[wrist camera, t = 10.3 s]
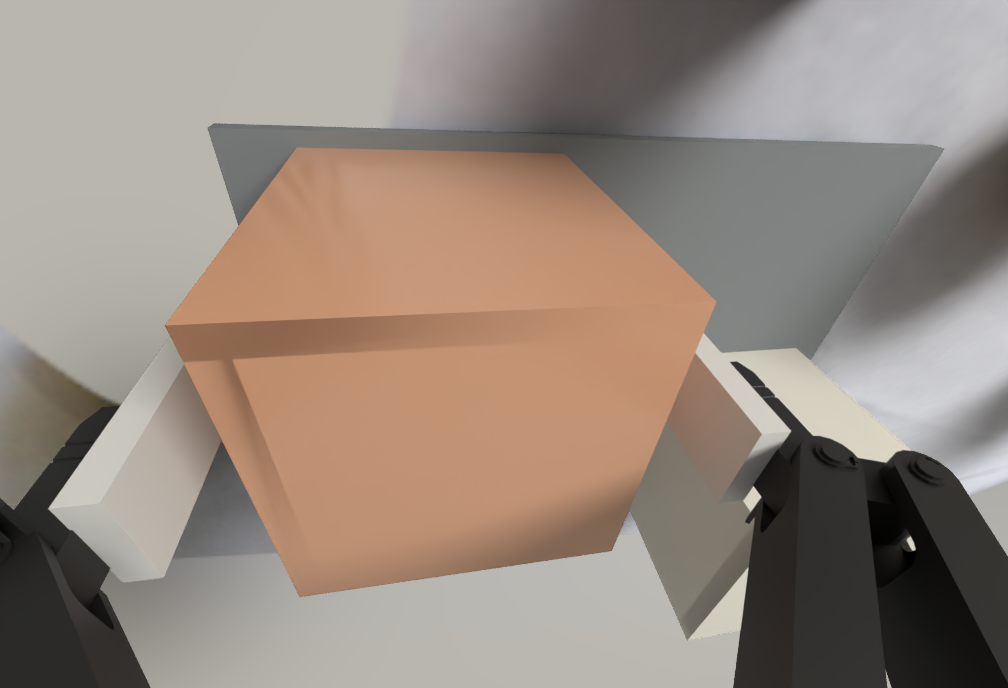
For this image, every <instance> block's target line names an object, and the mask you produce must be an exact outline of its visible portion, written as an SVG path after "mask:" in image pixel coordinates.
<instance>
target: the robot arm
mask: <svg viewBox="0 0 1008 688" xmlns="http://www.w3.org/2000/svg"><path fill="white" fill-rule="evenodd" d="M667 422H668V423H669V425H670V427H671V428H672V430H673V431H674V433H675V435H676V436H677V438H678V439H679V441H680V443H681V444H682V446H683V448H684V449H685V451H686V452H687V454H688V456H689V457H690V459H691V460H692V462H693V464H694V465H695V467H696V469H697V470H698V472H699V473H700V475H701V477H702V478H703V480H704V481H705V483H706V485H707V486H708V488H709V489H710V491H711V493H712V494H713V496H714V498H715V499H716V501H717V502H718V504H719V503H726V502H734V501H741V500H744V499H745V498H746V496H747V495H748V493H749V492H750V491H751V489H752V488H753V486H754V487H755V489H756V490H757V492H758V493H759V494H760V496H761V498H760V500H759V501H758V502H757V504H756V505H755V507H754V508H753V509H752V511H751V512H750V514H749V515H748V516H747V518H746V521H745V522H746V523H748V524H750V522H751V521H752V520H753V518H755V521H754V529H753V537H752V545H751V552H750V560H749V568H748V576H747V584H746V592H745V600H744V607H743V615H742V623H741V631H740V639H739V647H738V654H737V662H736V670H735V678H734V686H733V688H887V681H886V672H887V675H888V678H889V681H890V684H891V687H892V688H1008V556H1007V555H1006V553H1005V551H1004V550H1003V548H1002V547H1001V545H1000V544H999V542H998V541H997V539H996V537H995V536H994V534H993V533H992V531H991V530H990V528H989V527H988V525H987V523H986V522H985V520H984V519H983V517H982V516H981V514H980V512H979V511H978V509H977V508H976V506H975V505H974V503H973V502H972V500H971V498H970V497H969V495H968V494H967V492H966V491H965V489H964V487H963V486H962V484H961V483H960V481H959V480H958V479H957V478H956V476H955V475H954V474H953V473H952V472H951V471H950V470H949V469H948V468H946V467H945V466H944V465H942V464H941V463H940V462H938V461H936V460H935V459H932V458H931V457H929V456H927V455H924V454H921V453H918V452H915V451H908V450H902V451H898V452H896V453H895V454H894V455H893V456H892V457H891V458H890V459H889V460H888V461H887V462H886V463H885V462H879V461H874V460H868V459H862V458H857V456H856V455H855V454H854V453H853V452H852V451H851V450H849V449H848V448H847V447H845V446H844V445H843V444H840V443H838V442H836V441H834V440H832V439H830V438H826V437H822V436H813V435H812V434H811V433H810V432H809V431H808V430H807V429H806V428H805V427H804V425H803V424H802V423H801V422H800V421H799V420H798V419H797V418H796V417H795V416H794V415H793V414H792V413H791V412H790V410H789V409H788V408H787V407H786V406H785V405H784V404H783V403H782V402H781V401H780V400H779V399H778V398H775V394H774V393H773V392H772V391H771V390H770V389H769V388H768V387H765V384H764V383H763V382H762V381H761V379H760V378H759V377H758V376H757V375H756V374H755V373H754V372H753V371H751V370H750V369H748V368H747V367H745V366H744V365H742V364H740V363H739V362H737V361H734V362H729V361H728V360H727V359H726V357H725V356H724V355H723V354H722V353H721V352H720V351H719V350H718V349H717V347H716V346H715V345H714V344H713V343H712V342H711V341H710V340H709V338H708V337H707V336H706V335H705V334H704V333H703V335H702V338H701V340H700V342H699V345H698V347H697V350H696V352H695V354H694V357H693V359H692V361H691V364H690V366H689V369H688V371H687V373H686V376H685V378H684V380H683V383H682V385H681V388H680V390H679V392H678V395H677V397H676V399H675V402H674V404H673V407H672V409H671V411H670V414H669V416H668V418H667ZM221 440H222V439H221V437H220V435H219V433H218V431H217V429H216V427H215V425H214V423H213V421H212V419H211V417H210V415H209V413H208V411H207V409H206V407H205V405H204V403H203V401H202V399H201V397H200V395H199V393H198V391H197V389H196V387H195V385H194V383H193V381H192V379H191V377H190V375H189V373H188V371H187V369H186V367H185V365H184V363H183V361H182V359H181V357H180V355H179V353H178V351H177V349H176V347H175V345H174V343H173V341H172V339H171V337H170V336H169V338H168V339H167V341H166V342H165V344H164V345H163V346H162V348H161V349H160V351H159V352H158V353H157V355H156V356H155V358H154V359H153V361H152V362H151V363H150V365H149V366H148V368H147V369H146V370H145V372H144V373H143V375H142V376H141V378H140V379H139V380H138V382H137V383H136V385H135V386H134V388H133V389H132V390H131V392H130V393H129V395H128V396H127V397H126V399H125V400H124V402H123V403H122V405H121V406H115V407H102V408H101V409H100V410H98V411H97V412H96V413H94V414H93V415H92V416H90V417H89V418H88V419H86V420H85V421H84V422H83V423H81V424H80V425H79V426H78V428H77V429H76V430H75V431H74V433H73V434H72V435H71V437H70V438H69V439H68V441H67V442H66V443H65V444H66V446H65V447H62V448H61V450H60V451H59V452H58V454H57V455H56V456H55V457H54V459H53V463H50V464H49V465H48V467H47V468H46V469H45V470H44V472H43V473H42V474H41V476H40V477H39V478H38V480H37V481H36V482H35V483H34V485H33V486H32V487H31V489H30V490H29V491H28V493H27V494H26V495H25V496H24V498H23V499H22V500H21V502H20V503H19V504H18V506H17V507H16V508H15V509H14V510H13V509H11V508H10V507H9V506H8V505H7V504H6V503H5V502H4V501H3V500H2V499H1V498H0V688H150V686H149V684H148V682H147V679H146V677H145V675H144V673H143V671H142V669H141V667H140V665H139V663H138V661H137V658H136V657H135V654H134V652H133V650H132V648H131V646H130V644H129V642H128V640H127V637H126V636H125V633H124V631H123V629H122V627H121V625H120V623H119V621H118V619H117V616H116V615H115V612H114V610H113V608H112V606H111V604H110V602H109V600H108V598H107V595H105V594H104V593H103V592H102V591H101V590H100V587H101V585H102V583H103V581H104V580H105V577H106V576H107V573H108V572H109V570H110V571H111V572H112V573H113V574H114V575H115V576H116V577H117V578H118V579H119V580H120V581H121V582H122V583H128V582H135V581H143V580H150V579H158V578H164V576H165V574H166V571H167V569H168V566H169V564H170V562H171V559H172V557H173V555H174V552H175V550H176V548H177V545H178V543H179V540H180V538H181V536H182V533H183V531H184V528H185V526H186V524H187V521H188V519H189V517H190V514H191V512H192V509H193V507H194V505H195V502H196V500H197V497H198V495H199V493H200V490H201V488H202V486H203V483H204V481H205V478H206V476H207V474H208V471H209V469H210V466H211V464H212V462H213V459H214V457H215V455H216V452H217V450H218V447H219V445H220V443H221ZM910 536H911V538H912V540H913V542H914V545H915V549H916V550H914V551H912V549H911V548H910V546H909V544H908V542H907V539H908V538H909V537H910ZM885 669H886V671H885Z"/></svg>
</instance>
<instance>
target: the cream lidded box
mask: <svg viewBox="0 0 1008 688" xmlns="http://www.w3.org/2000/svg"><path fill="white" fill-rule="evenodd" d="M722 354H723V355H724V356H725V357H726V359H727V360H728V361H729V362H734V361H737V362H739V363H740V364H742V365H744V366H745V367H747V368H748V369H750V370H751V371H753V372H754V373H755V374H756V375H757V376H758V377H759V378H760V379H761V381H762V382H763V383H764V384H765V387H768V388H769V389H770V390H771V391H772V392H773V393H774V394H775V398H778V399H779V400H780V401H781V402H782V403H783V404H784V405H785V406H786V407H787V408H788V409H789V410H790V412H791V413H792V414H793V415H794V416H795V417H796V418H797V419H798V420H799V421H800V422H801V423H802V424H803V425H804V427H805V428H806V429H807V430H808V431H809V432H810V433H811V434H812V435H813V436H822V437H826V438H830V439H832V440H834V441H836V442H838V443H840V444H843V445H844V446H845V447H847V448H848V449H849V450H851V451H852V452H853V453H854V454H855V455H856V456H857V458H862V459H868V460H874V461H879V462H885V463H886V462H887V461H888V460H889V459H890V458H891V457H892V456H893V455H894V454H895V453H896V452H898V451H902V450H908V451H911V450H910V449H909V448H908V447H907V446H906V445H904V444H903V443H902V442H901V441H900V440H899V439H898V438H897V437H895V436H894V435H893V434H892V433H891V432H890V431H889V430H888V429H886V428H885V427H884V426H883V425H882V424H881V423H880V422H879V421H877V420H876V419H875V418H874V417H873V416H872V415H871V414H870V413H868V412H867V411H866V410H865V409H864V408H863V407H862V406H861V405H860V404H858V403H857V402H856V401H855V400H854V399H853V398H852V397H851V396H849V395H848V394H847V393H846V392H845V391H844V390H843V389H842V388H840V387H839V386H838V385H837V384H836V383H835V382H834V381H833V380H831V379H830V378H829V377H828V376H827V375H826V374H825V373H824V372H822V371H821V370H820V369H819V368H818V367H817V366H816V365H815V364H814V363H812V362H811V361H810V360H809V359H808V358H807V357H806V356H805V355H803V354H802V353H801V352H800V351H799V350H798V349H797V348H788V349H773V350H758V351H743V352H727V353H722ZM760 498H761V496H760V494H759V493H758V492H757V490H756V489H755V487H754V486H753V488H752V489H751V491H750V492H749V493H748V495H747V496H746V498H745V499H744V500H741V501H734V502H726V503H719V504H718V502H717V501H716V499H715V498H714V496H713V494H712V493H711V491H710V489H709V488H708V486H707V485H706V483H705V481H704V480H703V478H702V477H701V475H700V473H699V472H698V470H697V469H696V467H695V465H694V464H693V462H692V460H691V459H690V457H689V456H688V454H687V452H686V451H685V449H684V448H683V446H682V444H681V443H680V441H679V439H678V438H677V436H676V435H675V433H674V431H673V430H672V428H671V427H670V425H669V423H668V422H667V421H666V423H665V426H664V428H663V430H662V433H661V435H660V437H659V440H658V442H657V445H656V447H655V449H654V452H653V454H652V456H651V459H650V461H649V464H648V466H647V468H646V471H645V473H644V475H643V478H642V480H641V483H640V485H639V487H638V490H637V492H636V494H635V497H634V499H633V502H632V504H631V506H630V511H631V514H632V516H633V518H634V520H635V523H636V525H637V527H638V529H639V532H640V534H641V536H642V539H643V541H644V543H645V545H646V548H647V550H648V552H649V554H650V557H651V559H652V561H653V564H654V566H655V568H656V570H657V573H658V575H659V577H660V579H661V582H662V584H663V586H664V589H665V591H666V593H667V595H668V597H669V600H670V602H671V605H672V607H673V609H674V611H675V614H676V616H677V618H678V620H679V623H680V625H681V627H682V630H683V632H684V634H685V636H686V639H687V640H693V639H698V638H703V637H709V636H714V635H719V634H724V633H729V632H735V631H739V630H741V623H742V615H743V607H744V600H745V592H746V584H747V576H748V568H749V560H750V552H751V545H752V537H753V529H754V521H755V518H753V520H752V521H751V522H750V524H748V523H746V522H745V521H746V518H747V516H748V515H749V514H750V512H751V511H752V509H753V508H754V507H755V505H756V504H757V502H758V501H759V500H760ZM907 542H908V544H909V546H910V548H911V549H912V551H914V550H916V549H915V545H914V542H913V540H912V538H911V536H910V537H909V538H908V539H907Z"/></svg>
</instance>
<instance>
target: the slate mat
mask: <svg viewBox="0 0 1008 688" xmlns="http://www.w3.org/2000/svg"><path fill="white" fill-rule="evenodd" d="M208 131H209V134H210V137H211V140H212V143H213V147H214V150H215V153H216V156H217V159H218V162H219V165H220V168H221V172H222V175H223V178H224V181H225V184H226V188H227V191H228V194H229V197H230V200H231V203H232V206H233V210H234V213H235V216H236V219H237V222H238V225H240V223H241V222H242V221H243V219H244V218H245V217H246V215H247V214H248V213H249V211H250V210H251V209H252V207H253V206H254V205H255V203H256V202H257V201H258V199H259V198H260V196H261V195H262V194H263V192H264V191H265V190H266V188H267V187H268V186H269V184H270V183H271V182H272V180H273V179H274V178H275V176H276V175H277V174H278V172H279V171H280V170H281V168H282V167H283V165H284V164H285V163H286V161H287V160H288V159H289V157H290V156H291V155H292V153H293V152H294V151H295V149H296V148H341V149H387V150H434V151H480V152H526V153H564V154H565V155H566V156H567V157H568V158H569V159H570V160H571V161H572V162H573V163H574V164H575V165H576V166H577V167H578V168H579V169H580V170H582V171H583V172H584V173H585V174H586V175H587V176H588V177H589V178H590V179H591V180H592V181H593V182H594V183H595V184H596V185H597V186H598V187H599V188H600V189H601V190H602V191H603V192H604V193H605V194H606V195H607V196H608V197H609V198H610V199H611V200H612V201H614V202H615V203H616V204H617V205H618V206H619V207H620V208H621V209H622V210H623V211H624V212H625V213H626V214H627V215H628V216H629V217H630V218H631V219H632V220H633V221H634V222H635V223H636V224H637V225H638V226H639V227H640V228H641V229H642V230H643V231H644V232H645V233H647V234H648V235H649V236H650V237H651V238H652V239H653V240H654V241H655V242H656V243H657V244H658V245H659V246H660V247H661V248H662V249H663V250H664V251H665V252H666V253H667V254H668V255H669V256H670V257H671V258H672V259H673V260H674V261H675V262H676V263H677V264H678V265H680V266H681V267H682V268H683V269H684V270H685V271H686V272H687V273H688V274H689V275H690V276H691V277H692V278H693V279H694V280H695V281H696V282H697V283H698V284H699V285H700V286H701V287H702V288H703V289H704V290H705V291H706V292H707V293H708V294H709V295H710V296H712V297H713V298H714V299H715V300H716V301H717V302H716V304H715V307H714V309H713V312H712V314H711V316H710V319H709V321H708V323H707V326H706V328H705V331H704V334H705V335H706V336H707V337H708V338H709V340H710V341H711V342H712V343H713V344H714V345H715V346H716V347H717V349H718V350H719V351H720V352H721V353H727V352H743V351H758V350H773V349H788V348H797V349H798V350H799V351H800V352H801V353H802V354H803V355H805V356H806V357H807V358H808V359H809V360H811V358H812V357H813V355H814V354H815V352H816V350H817V349H818V347H819V346H820V344H821V343H822V341H823V339H824V338H825V336H826V335H827V333H828V332H829V330H830V328H831V327H832V325H833V324H834V322H835V321H836V319H837V317H838V316H839V314H840V313H841V311H842V309H843V308H844V306H845V305H846V303H847V302H848V300H849V298H850V297H851V295H852V294H853V292H854V291H855V289H856V287H857V286H858V284H859V283H860V281H861V279H862V278H863V276H864V275H865V273H866V272H867V270H868V268H869V267H870V265H871V264H872V262H873V261H874V259H875V257H876V256H877V254H878V253H879V251H880V250H881V248H882V246H883V245H884V243H885V242H886V240H887V238H888V237H889V235H890V234H891V232H892V231H893V229H894V227H895V226H896V224H897V223H898V221H899V220H900V218H901V216H902V215H903V213H904V212H905V210H906V208H907V207H908V205H909V204H910V202H911V201H912V199H913V197H914V196H915V194H916V193H917V191H918V190H919V188H920V186H921V185H922V183H923V182H924V180H925V178H926V177H927V175H928V174H929V172H930V171H931V169H932V167H933V166H934V164H935V163H936V161H937V160H938V158H939V156H940V155H941V153H942V152H943V150H944V148H941V147H937V146H933V145H917V144H884V143H850V142H817V141H783V140H750V139H716V138H683V137H649V136H615V135H582V134H548V133H515V132H481V131H448V130H414V129H381V128H346V127H312V126H280V125H246V124H213V125H211V126H210V127H208Z"/></svg>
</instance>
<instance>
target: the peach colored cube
mask: <svg viewBox="0 0 1008 688" xmlns="http://www.w3.org/2000/svg"><path fill="white" fill-rule="evenodd" d="M716 302H717V301H716V300H715V299H714V298H713V297H712V296H710V295H709V294H708V293H707V292H706V291H705V290H704V289H703V288H702V287H701V286H700V285H699V284H698V283H697V282H696V281H695V280H694V279H693V278H692V277H691V276H690V275H689V274H688V273H687V272H686V271H685V270H684V269H683V268H682V267H681V266H680V265H678V264H677V263H676V262H675V261H674V260H673V259H672V258H671V257H670V256H669V255H668V254H667V253H666V252H665V251H664V250H663V249H662V248H661V247H660V246H659V245H658V244H657V243H656V242H655V241H654V240H653V239H652V238H651V237H650V236H649V235H648V234H647V233H645V232H644V231H643V230H642V229H641V228H640V227H639V226H638V225H637V224H636V223H635V222H634V221H633V220H632V219H631V218H630V217H629V216H628V215H627V214H626V213H625V212H624V211H623V210H622V209H621V208H620V207H619V206H618V205H617V204H616V203H615V202H614V201H612V200H611V199H610V198H609V197H608V196H607V195H606V194H605V193H604V192H603V191H602V190H601V189H600V188H599V187H598V186H597V185H596V184H595V183H594V182H593V181H592V180H591V179H590V178H589V177H588V176H587V175H586V174H585V173H584V172H583V171H582V170H580V169H579V168H578V167H577V166H576V165H575V164H574V163H573V162H572V161H571V160H570V159H569V158H568V157H567V156H566V155H565V154H564V153H526V152H480V151H434V150H387V149H341V148H296V149H295V151H294V152H293V153H292V155H291V156H290V157H289V159H288V160H287V161H286V163H285V164H284V165H283V167H282V168H281V170H280V171H279V172H278V174H277V175H276V176H275V178H274V179H273V180H272V182H271V183H270V184H269V186H268V187H267V188H266V190H265V191H264V192H263V194H262V195H261V196H260V198H259V199H258V201H257V202H256V203H255V205H254V206H253V207H252V209H251V210H250V211H249V213H248V214H247V215H246V217H245V218H244V219H243V221H242V222H241V223H240V225H239V226H238V228H237V229H236V230H235V232H234V233H233V234H232V236H231V237H230V238H229V240H228V241H227V242H226V244H225V245H224V247H223V248H222V249H221V251H220V252H219V253H218V254H217V256H216V257H215V259H214V260H213V261H212V263H211V264H210V265H209V267H208V268H207V269H206V271H205V272H204V273H203V275H202V276H201V277H200V279H199V280H198V282H197V283H196V284H195V286H194V287H193V289H192V290H191V291H190V292H189V294H188V295H187V296H186V298H185V299H184V300H183V302H182V303H181V304H180V306H179V307H178V309H177V310H176V311H175V312H174V314H173V315H172V317H171V318H170V319H169V321H168V322H167V323H166V325H165V326H166V328H167V330H168V333H169V334H170V337H171V339H172V341H173V343H174V345H175V347H176V349H177V351H178V353H179V355H180V357H181V359H182V361H183V363H184V365H185V367H186V369H187V371H188V373H189V375H190V377H191V379H192V381H193V383H194V385H195V387H196V389H197V391H198V393H199V395H200V397H201V399H202V401H203V403H204V405H205V407H206V409H207V411H208V413H209V415H210V417H211V419H212V421H213V423H214V425H215V427H216V429H217V431H218V433H219V435H220V437H221V439H222V441H223V443H224V445H225V447H226V449H227V451H228V454H229V456H230V458H231V460H232V462H233V464H234V466H235V468H236V470H237V472H238V474H239V476H240V478H241V480H242V482H243V484H244V486H245V488H246V490H247V492H248V494H249V496H250V498H251V500H252V502H253V504H254V506H255V508H256V510H257V512H258V514H259V516H260V518H261V520H262V522H263V524H264V526H265V528H266V530H267V532H268V534H269V536H270V538H271V540H272V542H273V544H274V546H275V548H276V550H277V552H278V554H279V556H280V558H281V560H282V562H283V564H284V566H285V568H286V570H287V572H288V574H289V576H290V578H291V580H292V583H293V585H294V587H295V589H296V590H297V593H298V595H299V596H300V597H303V596H310V595H317V594H324V593H330V592H336V591H344V590H350V589H357V588H364V587H371V586H378V585H384V584H391V583H398V582H405V581H411V580H418V579H425V578H431V577H439V576H445V575H452V574H458V573H465V572H472V571H479V570H486V569H492V568H500V567H506V566H513V565H520V564H527V563H533V562H540V561H547V560H553V559H560V558H567V557H574V556H581V555H587V554H594V553H601V552H608V551H612V549H613V547H614V544H615V542H616V540H617V537H618V535H619V532H620V530H621V528H622V525H623V523H624V521H625V518H626V516H627V513H628V511H629V509H630V506H631V504H632V502H633V499H634V497H635V494H636V492H637V490H638V487H639V485H640V483H641V480H642V478H643V475H644V473H645V471H646V468H647V466H648V464H649V461H650V459H651V456H652V454H653V452H654V449H655V447H656V445H657V442H658V440H659V437H660V435H661V433H662V430H663V428H664V426H665V423H666V421H667V418H668V416H669V414H670V411H671V409H672V407H673V404H674V402H675V399H676V397H677V395H678V392H679V390H680V388H681V385H682V383H683V380H684V378H685V376H686V373H687V371H688V369H689V366H690V364H691V361H692V359H693V357H694V354H695V352H696V350H697V347H698V345H699V342H700V340H701V338H702V335H703V333H704V331H705V328H706V326H707V323H708V321H709V319H710V316H711V314H712V312H713V309H714V307H715V304H716Z"/></svg>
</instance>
